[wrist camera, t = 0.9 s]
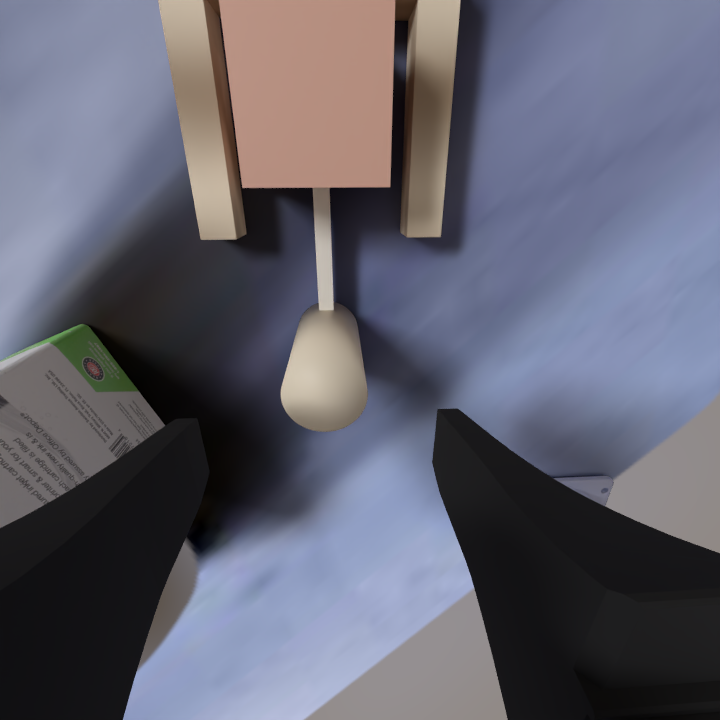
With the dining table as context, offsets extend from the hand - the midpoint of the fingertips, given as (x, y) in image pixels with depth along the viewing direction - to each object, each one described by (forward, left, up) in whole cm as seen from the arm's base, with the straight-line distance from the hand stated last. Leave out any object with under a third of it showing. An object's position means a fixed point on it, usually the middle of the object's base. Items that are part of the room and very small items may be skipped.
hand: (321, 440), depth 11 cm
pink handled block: (+5, 0, -10) cm, 11 cm away
